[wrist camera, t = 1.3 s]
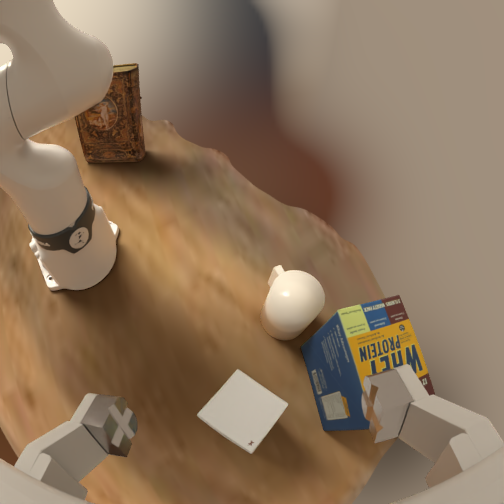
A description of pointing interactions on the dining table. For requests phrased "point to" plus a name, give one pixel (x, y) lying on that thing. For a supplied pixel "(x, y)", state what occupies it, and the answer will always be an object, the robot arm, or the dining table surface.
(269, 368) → the dining table surface
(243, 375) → the supplement box
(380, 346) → the protein box
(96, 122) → the book
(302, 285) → the off-white mug
